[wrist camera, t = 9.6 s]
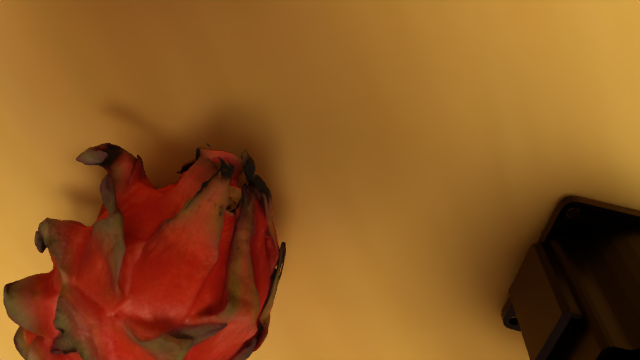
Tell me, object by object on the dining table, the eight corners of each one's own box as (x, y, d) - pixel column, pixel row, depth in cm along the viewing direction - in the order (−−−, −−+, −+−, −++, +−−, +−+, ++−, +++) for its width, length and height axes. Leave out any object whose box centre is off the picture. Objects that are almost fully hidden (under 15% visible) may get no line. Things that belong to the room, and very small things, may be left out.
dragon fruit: (107, 281, 27) (258, 94, 24) (206, 432, 24) (395, 244, 21) (-85, 314, 20) (98, 44, 16) (27, 539, 17) (279, 270, 13)
